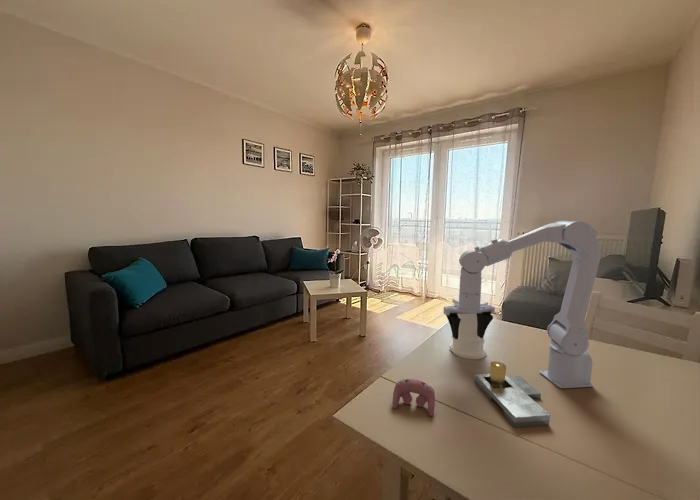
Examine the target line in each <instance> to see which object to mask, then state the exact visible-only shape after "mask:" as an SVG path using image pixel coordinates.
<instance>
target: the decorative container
mask: <svg viewBox="0 0 700 500" xmlns="http://www.w3.org/2000/svg"><path fill="white" fill-rule="evenodd" d="M452 303H453V304H454V305H459V294H456V295H453V296H452ZM480 305H489V300H488V299H487V298H486V297H482V296H481V299H480ZM457 315H458V317H459V318H460V319H461V321H460V324H459V330H458V339H455V338H454V337H453V336H452V335H451V339H452V341H451V342H449V348H450V349H449V351H450V350H451V351H452V352H453V353H454V354H453V353H452V352H451V351H450V352H451V353H452V354H453V355H455V354H456V355H455V356H457V355H458V356H457V357H460V358H462V359H465V360H466V359H467V360H480V359H484V358H485V357H486V356H487V348H486V346H484V344H485V334H486V332H485V333H484V336H483V338H480V337H479V336H477V314H476V313H475V314H457Z"/></svg>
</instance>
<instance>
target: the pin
mask: <svg viewBox="0 0 700 500" xmlns="http://www.w3.org/2000/svg"><path fill="white" fill-rule="evenodd" d="M506 372H507V365H506V364H505V363H503V362H500V361H495V360H493V361H491V362H490V367H489V374H490V379H489V384H490V385H491V386H492V387H493V388H504V387H505V375H506Z"/></svg>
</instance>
